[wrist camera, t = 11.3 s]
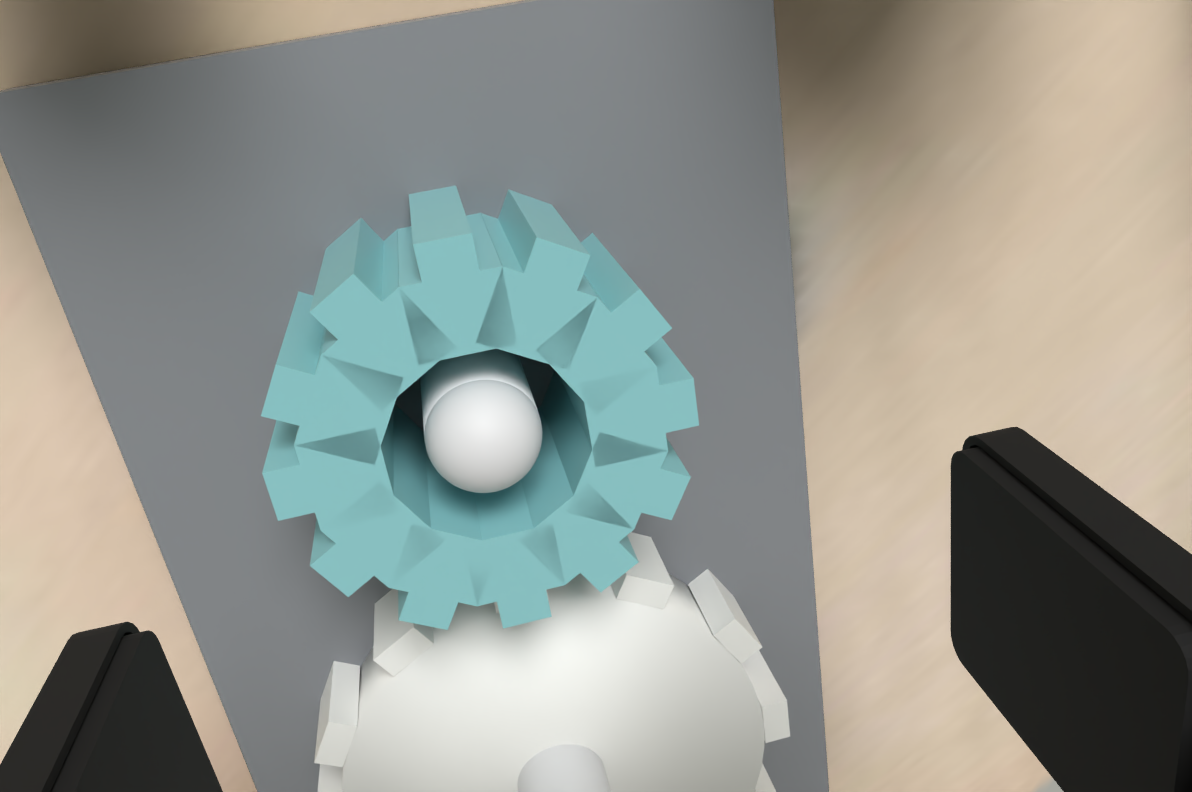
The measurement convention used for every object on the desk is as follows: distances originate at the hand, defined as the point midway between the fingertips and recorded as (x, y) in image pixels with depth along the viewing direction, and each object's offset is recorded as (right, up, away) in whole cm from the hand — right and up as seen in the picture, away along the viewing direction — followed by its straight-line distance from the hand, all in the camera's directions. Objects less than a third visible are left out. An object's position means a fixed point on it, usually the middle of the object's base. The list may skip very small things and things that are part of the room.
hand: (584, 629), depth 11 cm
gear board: (-2, 0, +12) cm, 12 cm away
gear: (-2, +3, +8) cm, 9 cm away
